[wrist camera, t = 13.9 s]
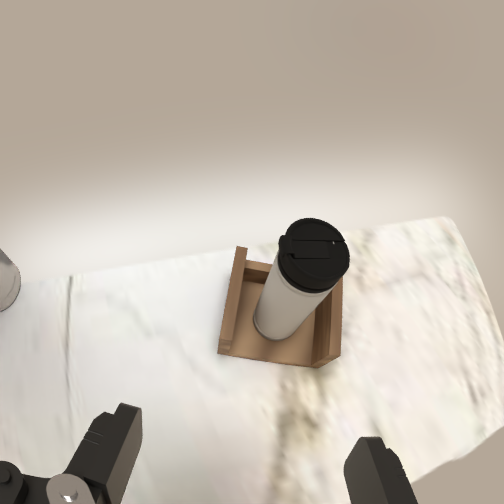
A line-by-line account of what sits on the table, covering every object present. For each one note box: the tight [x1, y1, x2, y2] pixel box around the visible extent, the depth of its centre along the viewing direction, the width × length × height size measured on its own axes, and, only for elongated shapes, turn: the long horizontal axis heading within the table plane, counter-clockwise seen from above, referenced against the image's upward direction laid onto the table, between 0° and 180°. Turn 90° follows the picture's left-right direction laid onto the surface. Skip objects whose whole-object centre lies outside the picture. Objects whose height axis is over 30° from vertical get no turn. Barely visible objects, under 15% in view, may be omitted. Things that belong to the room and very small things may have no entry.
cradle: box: [218, 246, 343, 368], centre depth 41 cm, size 14×12×8 cm
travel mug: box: [253, 218, 350, 341], centre depth 34 cm, size 6×7×20 cm
